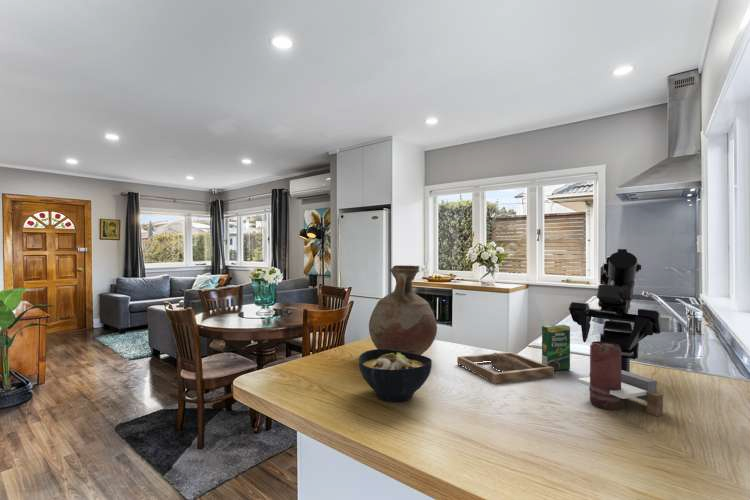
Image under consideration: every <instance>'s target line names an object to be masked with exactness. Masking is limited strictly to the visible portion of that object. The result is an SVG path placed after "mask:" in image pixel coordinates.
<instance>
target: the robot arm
mask: <svg viewBox="0 0 750 500" xmlns="http://www.w3.org/2000/svg"><path fill="white" fill-rule="evenodd" d="M605 258H606V259H603V262H602V263H603V265H602V266H601V267H600V276H599V280H600V281H599V284H598V285H597V294H596V298H597V299H598V303H597V304H598V307H600V309H599V308H597V309H596V308H590V306H589V303H588V302H580V301H572V302H571V303H570V304H569V306H568V311H569V314H570V316H571V319H572V321H573V322H575V323H577V325H578V326H580V329H581V337H582V341H583V343H586V342H587V340H588V337H589V333H590V329H591V320H592V318H596V319H597V318H598V319H603V320H605V321H604V324H603V327H602V332H600V334H599V335H600V336H599V337H600V338H599V341H603V342H610V343H615V344H618V345H619V346H620V348H621V370H624V371H627V372H630V370H631V369H630V366H631V363H630V362H631V360H636V359H638V358H639V346H640V345H639V344H640V343H639V342H641V340H643V339H644V338H646V337H648V336H653V335H654V334H655V335H656V334H657V335H658V334H661V332H662V328H663V327H662V318H661V313H660V312H659V311H658V310H655V309H645V308H638V309H637V314H635V313H633V314H632V313H629V311H630V309H631V303H632V301H633V298H634V288H635V286H636V285H635V284H636V283H635V279H636V275H637V274H638V273H639V272H640V270H642V264H640V263H639V262H638V258H637V257H636V255H634V254H633V253H631V252H629V251H628V249H627V248H617V252H616V251H615V252H613V253H612V254H610V255H607V256H606V257H605ZM632 324H633V327H632ZM630 373H631V372H630Z"/></svg>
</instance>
